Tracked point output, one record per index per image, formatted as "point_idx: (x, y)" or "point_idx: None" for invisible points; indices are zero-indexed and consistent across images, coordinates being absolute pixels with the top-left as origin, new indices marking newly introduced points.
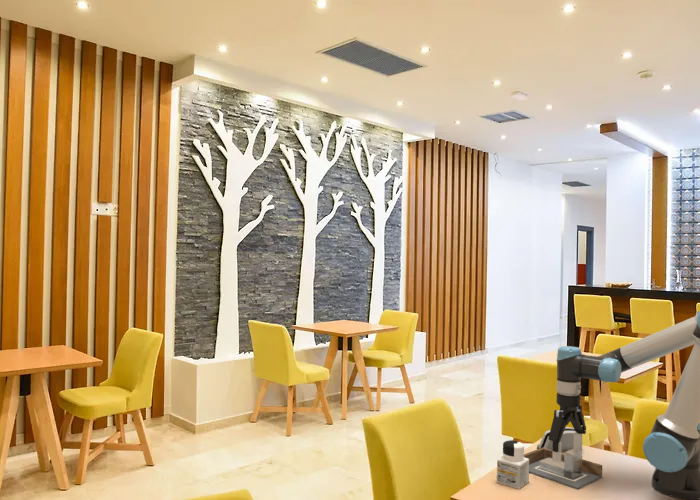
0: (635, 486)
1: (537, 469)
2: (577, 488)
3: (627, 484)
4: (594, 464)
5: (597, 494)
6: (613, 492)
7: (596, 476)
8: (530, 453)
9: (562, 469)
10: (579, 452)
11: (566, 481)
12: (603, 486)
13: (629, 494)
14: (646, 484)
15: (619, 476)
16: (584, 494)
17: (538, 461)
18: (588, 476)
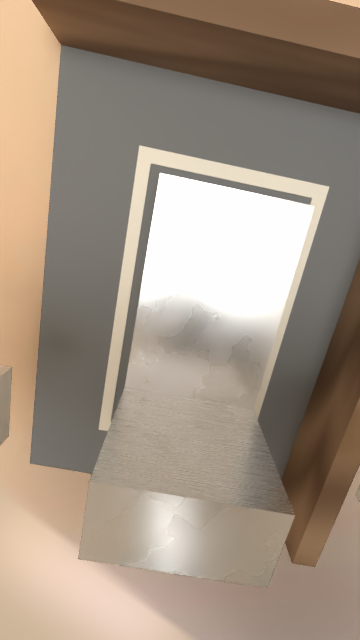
0: (265, 611)
1: (133, 178)
2: (31, 458)
3: (268, 587)
4: (303, 529)
5: (51, 528)
6: (128, 567)
7: None
8: (239, 16)
9: (127, 372)
10: (216, 574)
11: (68, 396)
12: None
13: (154, 610)
14: (319, 634)
15: (356, 548)
16: (4, 490)
17: (314, 113)
18: None
